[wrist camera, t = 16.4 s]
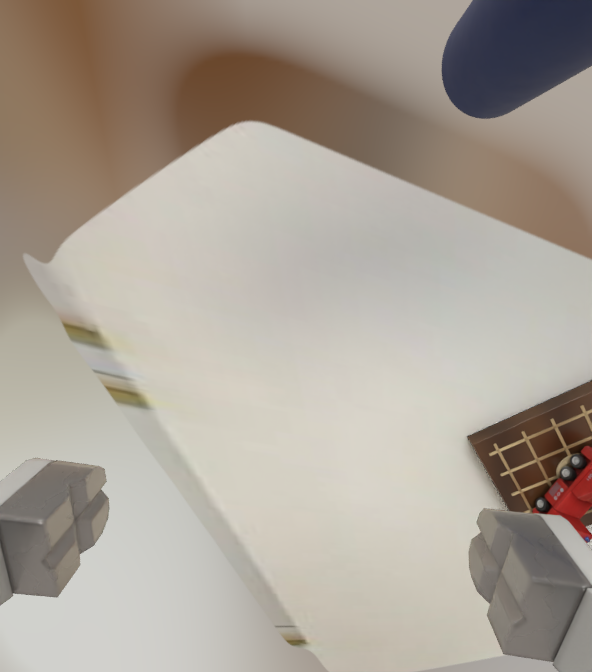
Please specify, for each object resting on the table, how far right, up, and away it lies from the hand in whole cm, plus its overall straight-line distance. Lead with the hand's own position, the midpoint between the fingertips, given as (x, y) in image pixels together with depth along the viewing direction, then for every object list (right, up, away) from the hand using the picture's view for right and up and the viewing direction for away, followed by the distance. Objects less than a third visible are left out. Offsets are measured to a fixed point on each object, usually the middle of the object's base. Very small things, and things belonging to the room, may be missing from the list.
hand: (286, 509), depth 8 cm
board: (+30, -10, +32) cm, 45 cm away
